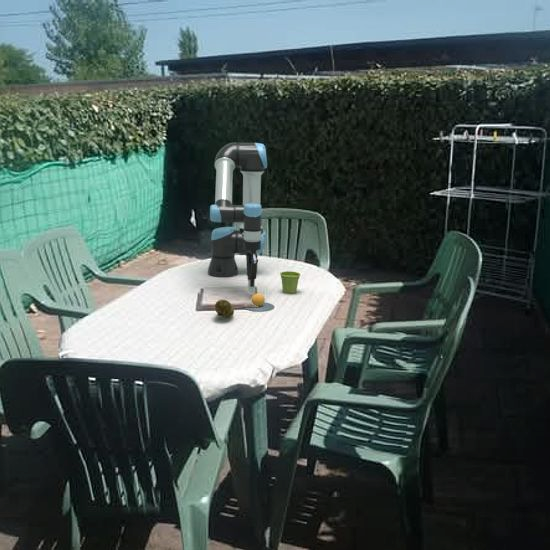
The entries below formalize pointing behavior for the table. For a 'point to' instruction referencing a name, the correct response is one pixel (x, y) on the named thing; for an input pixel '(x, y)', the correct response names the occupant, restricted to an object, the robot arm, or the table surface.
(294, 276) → the plant pot
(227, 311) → the potato
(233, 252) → the robot arm
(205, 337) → the table surface
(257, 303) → the ball
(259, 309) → the disc
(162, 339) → the table surface
